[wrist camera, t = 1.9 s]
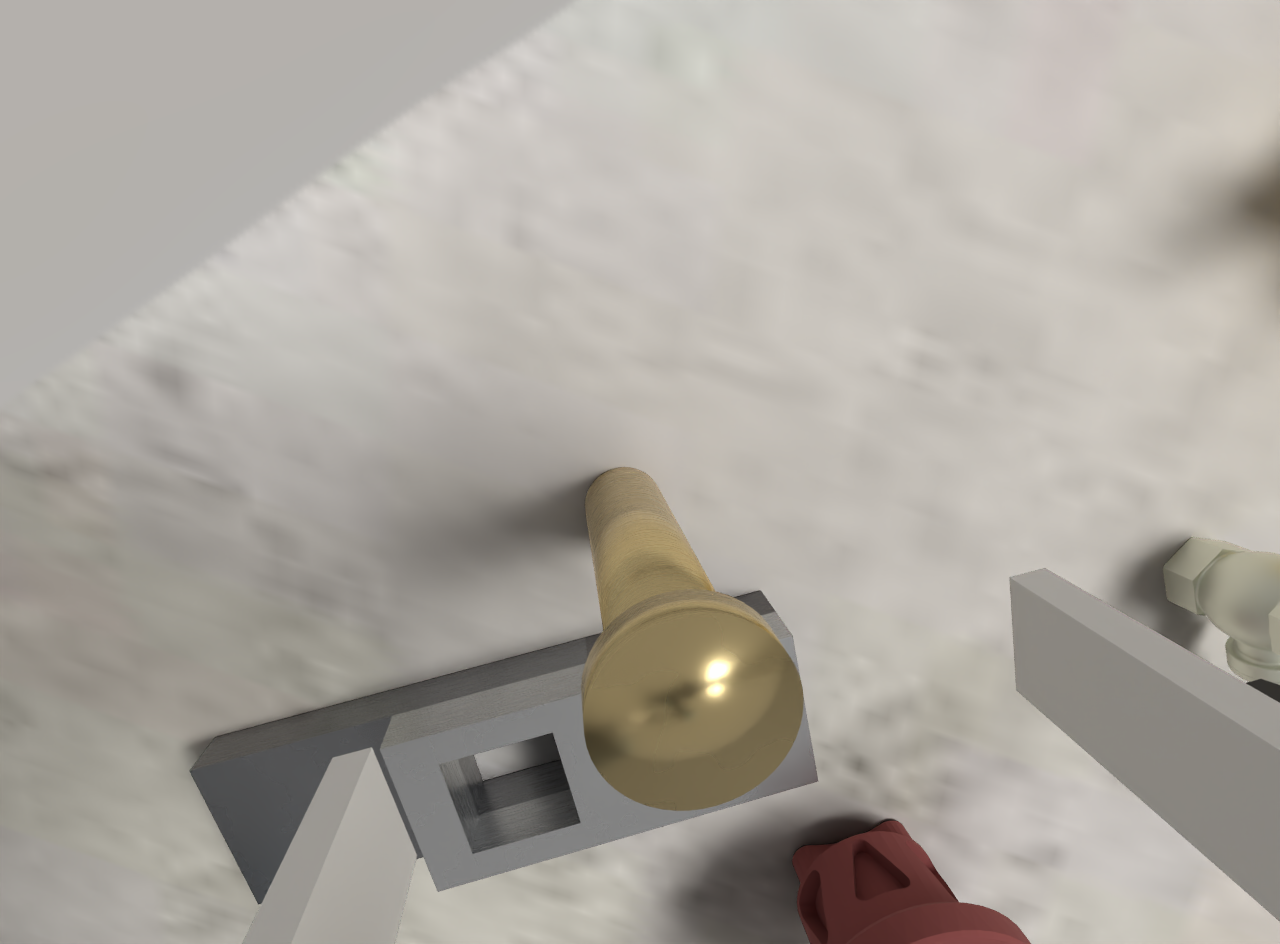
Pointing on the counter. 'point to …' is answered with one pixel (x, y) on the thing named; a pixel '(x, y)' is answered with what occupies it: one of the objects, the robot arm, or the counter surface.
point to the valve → (1232, 600)
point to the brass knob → (676, 663)
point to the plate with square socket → (454, 769)
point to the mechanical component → (887, 895)
